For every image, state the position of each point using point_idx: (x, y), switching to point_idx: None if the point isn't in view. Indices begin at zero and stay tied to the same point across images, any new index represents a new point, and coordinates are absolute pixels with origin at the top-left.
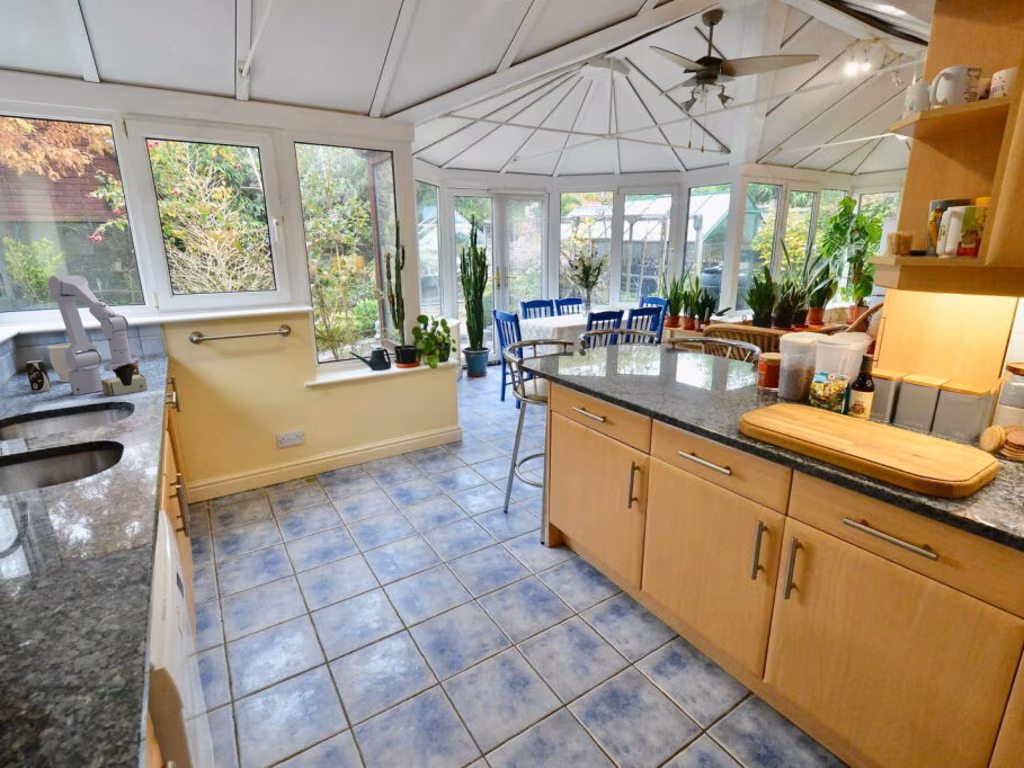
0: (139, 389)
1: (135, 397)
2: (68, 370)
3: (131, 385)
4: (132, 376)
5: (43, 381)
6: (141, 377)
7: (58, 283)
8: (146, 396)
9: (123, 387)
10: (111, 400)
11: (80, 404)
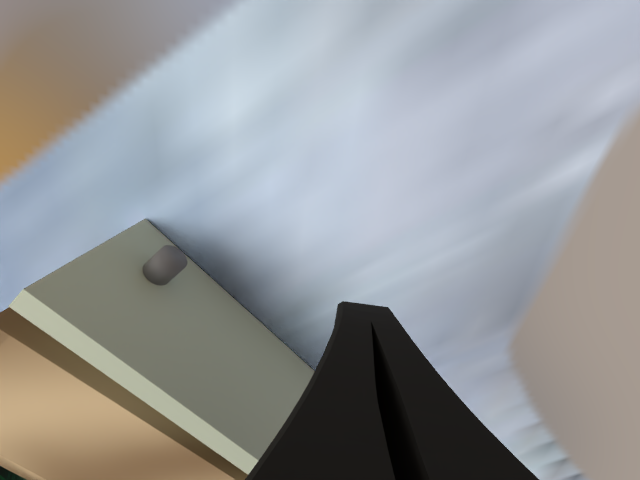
0: (188, 272)
1: (422, 178)
2: None
3: (208, 345)
4: (29, 447)
5: None
6: (29, 343)
7: None
8: (406, 68)
9: (262, 381)
10: (475, 330)
11: (521, 453)
